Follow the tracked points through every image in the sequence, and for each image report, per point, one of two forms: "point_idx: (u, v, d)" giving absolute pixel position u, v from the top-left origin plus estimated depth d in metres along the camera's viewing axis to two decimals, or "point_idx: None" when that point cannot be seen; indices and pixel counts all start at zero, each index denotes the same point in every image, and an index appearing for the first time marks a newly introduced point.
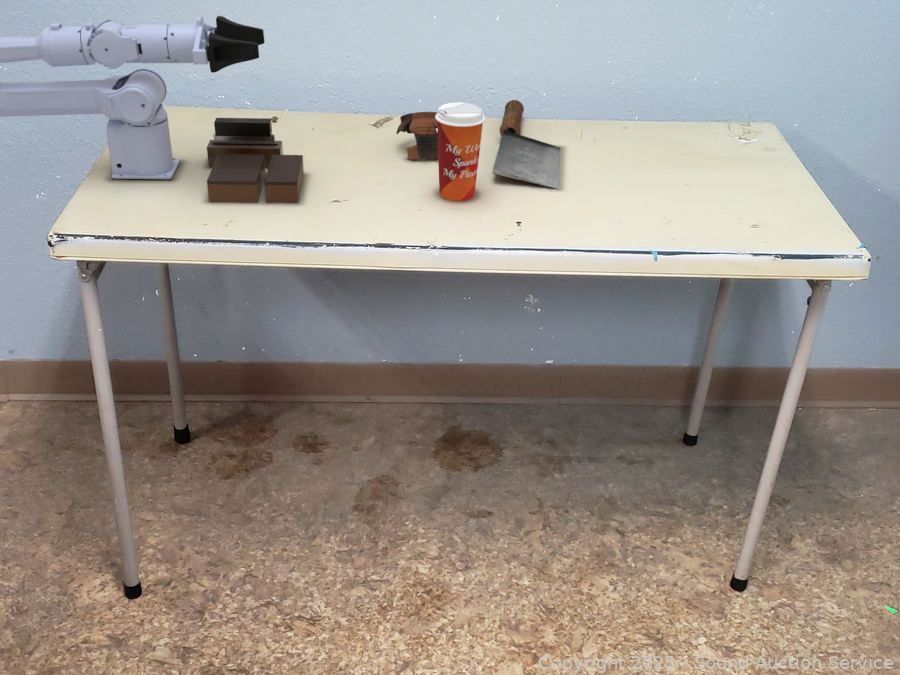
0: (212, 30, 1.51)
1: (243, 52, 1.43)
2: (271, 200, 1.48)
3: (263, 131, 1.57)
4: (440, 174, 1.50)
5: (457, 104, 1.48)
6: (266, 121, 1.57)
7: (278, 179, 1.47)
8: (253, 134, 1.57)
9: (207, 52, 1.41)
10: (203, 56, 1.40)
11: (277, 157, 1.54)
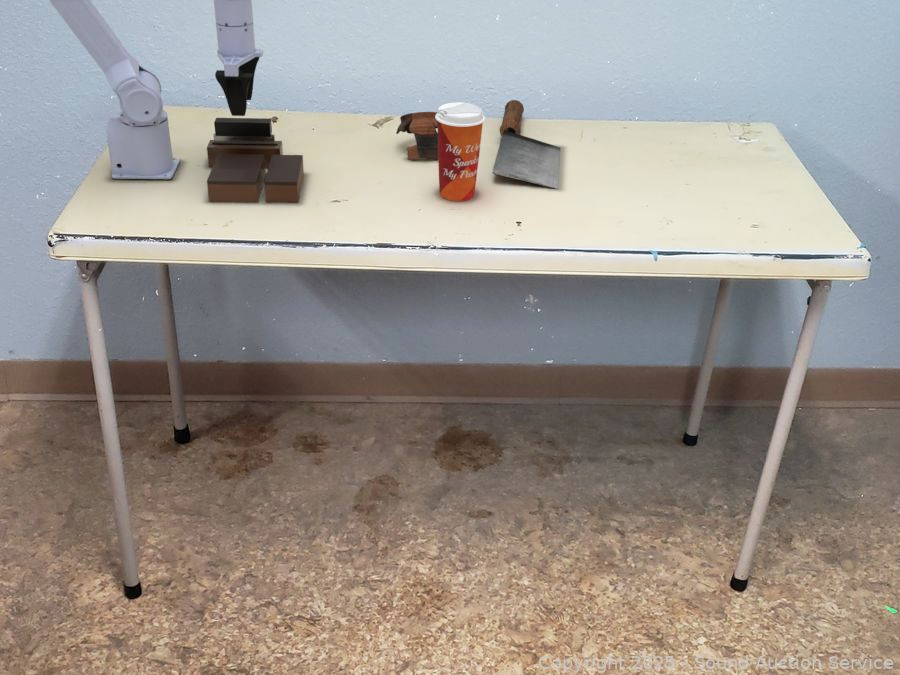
0: None
1: (236, 102, 1.51)
2: (271, 200, 1.48)
3: (263, 131, 1.57)
4: (440, 174, 1.50)
5: (457, 104, 1.48)
6: (266, 121, 1.57)
7: (278, 179, 1.47)
8: (253, 134, 1.57)
9: None
10: (232, 74, 1.45)
11: (277, 157, 1.54)
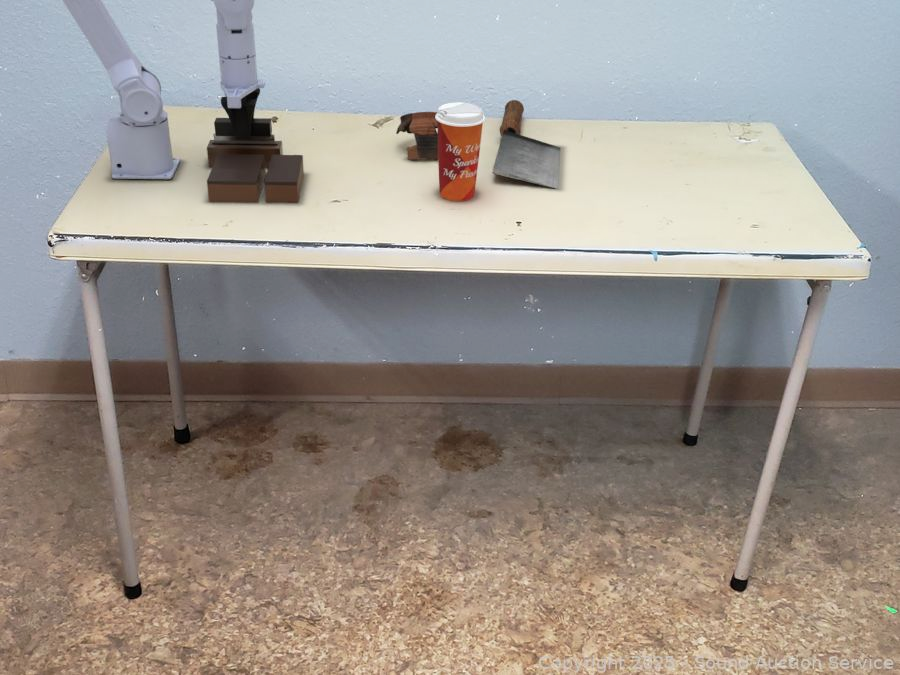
0: None
1: (240, 127, 1.55)
2: (271, 200, 1.48)
3: (263, 131, 1.57)
4: (440, 174, 1.50)
5: (457, 104, 1.48)
6: (266, 121, 1.57)
7: (278, 179, 1.47)
8: (253, 134, 1.57)
9: None
10: (235, 106, 1.48)
11: (277, 157, 1.54)
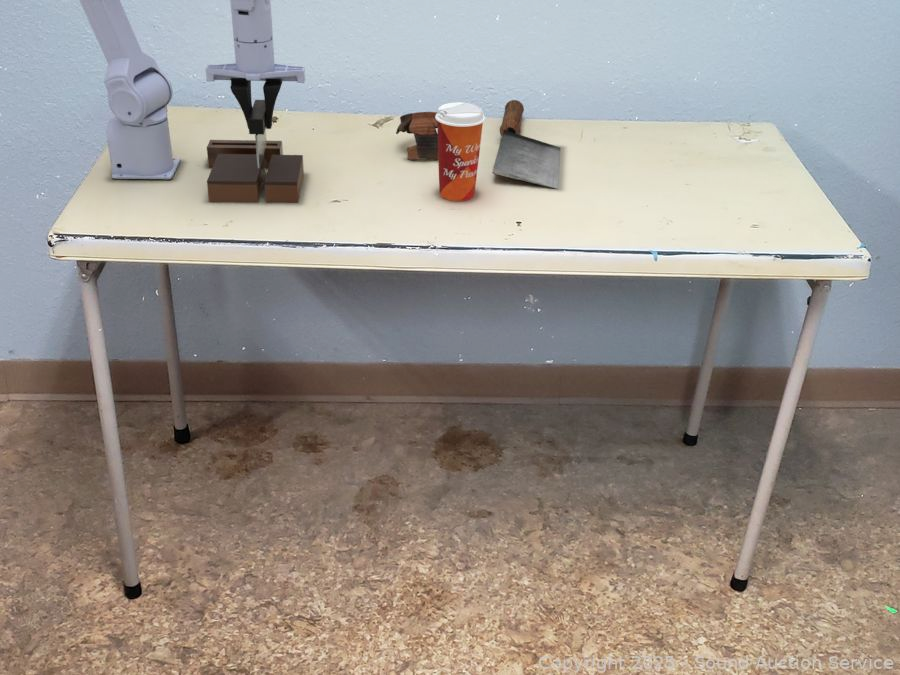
0: (295, 75, 1.44)
1: None
2: (271, 200, 1.48)
3: None
4: (440, 174, 1.50)
5: (457, 104, 1.48)
6: (253, 117, 1.43)
7: (278, 179, 1.47)
8: None
9: None
10: None
11: (277, 157, 1.54)
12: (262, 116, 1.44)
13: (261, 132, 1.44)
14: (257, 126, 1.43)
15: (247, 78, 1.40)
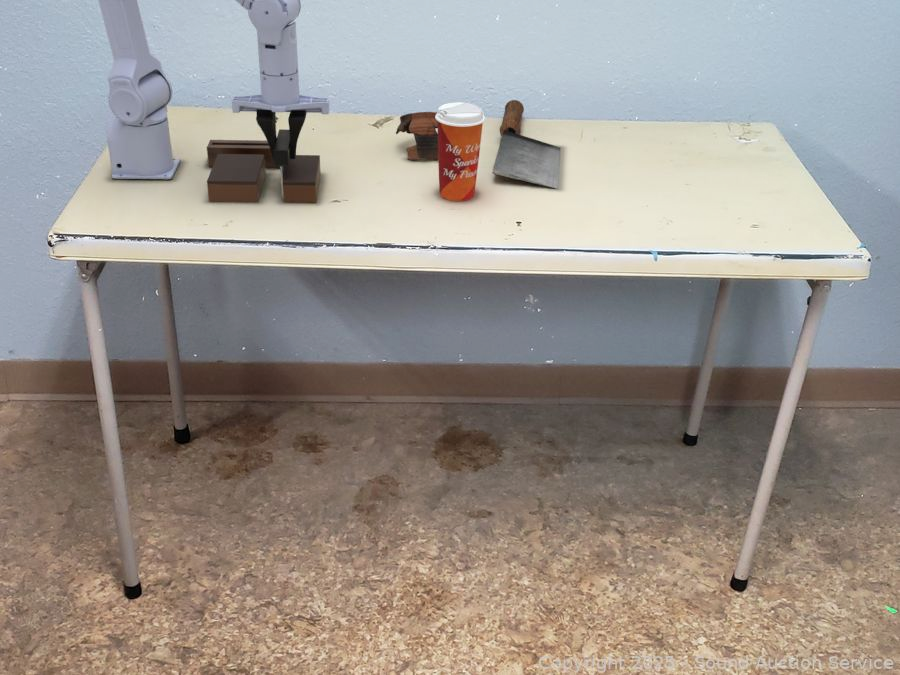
0: None
1: None
2: (289, 200, 1.48)
3: None
4: (440, 174, 1.50)
5: (457, 104, 1.48)
6: (278, 148, 1.45)
7: (296, 179, 1.47)
8: None
9: None
10: None
11: (295, 157, 1.54)
12: (287, 147, 1.46)
13: (286, 163, 1.46)
14: (282, 157, 1.45)
15: (273, 110, 1.42)
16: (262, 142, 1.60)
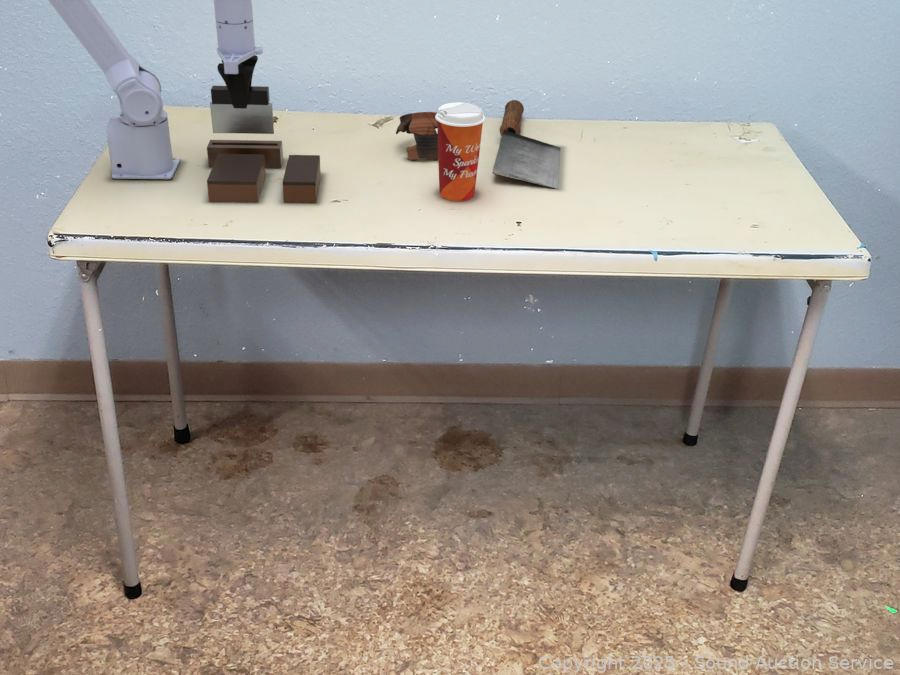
0: None
1: (238, 95, 1.53)
2: (289, 200, 1.48)
3: (260, 99, 1.54)
4: (440, 174, 1.50)
5: (457, 104, 1.48)
6: (263, 89, 1.54)
7: (296, 179, 1.47)
8: (250, 102, 1.54)
9: None
10: (232, 71, 1.45)
11: (295, 157, 1.54)
12: (260, 86, 1.55)
13: (269, 99, 1.56)
14: (268, 94, 1.55)
15: (261, 52, 1.50)
16: (262, 142, 1.60)
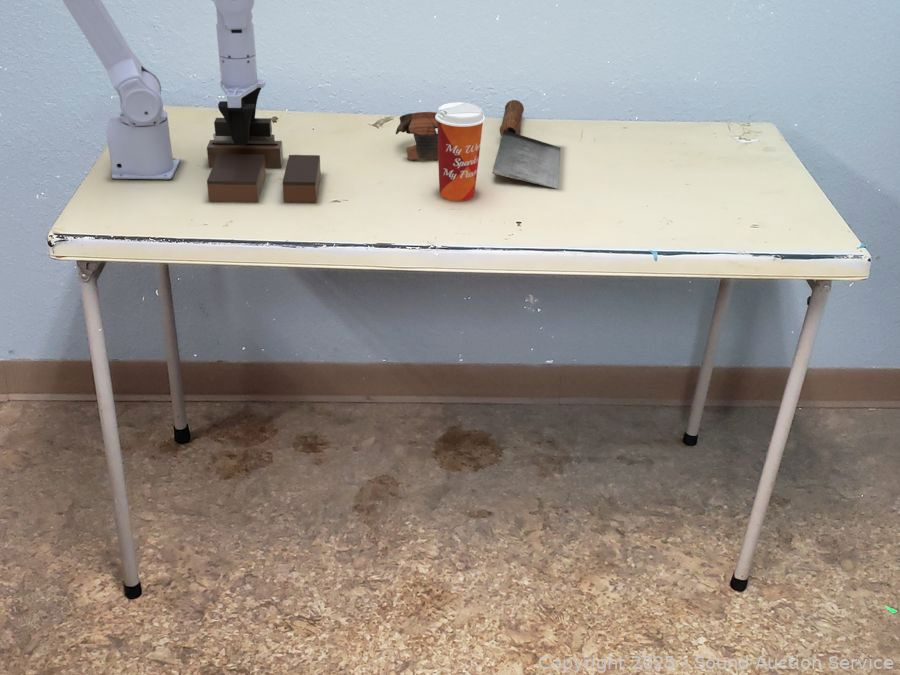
0: None
1: (238, 132, 1.53)
2: (289, 200, 1.48)
3: (263, 131, 1.57)
4: (440, 174, 1.50)
5: (457, 104, 1.48)
6: (266, 121, 1.57)
7: (296, 179, 1.47)
8: (253, 134, 1.57)
9: None
10: (235, 105, 1.48)
11: (295, 157, 1.54)
12: (263, 118, 1.58)
13: (271, 130, 1.59)
14: (270, 126, 1.58)
15: (263, 85, 1.53)
16: None
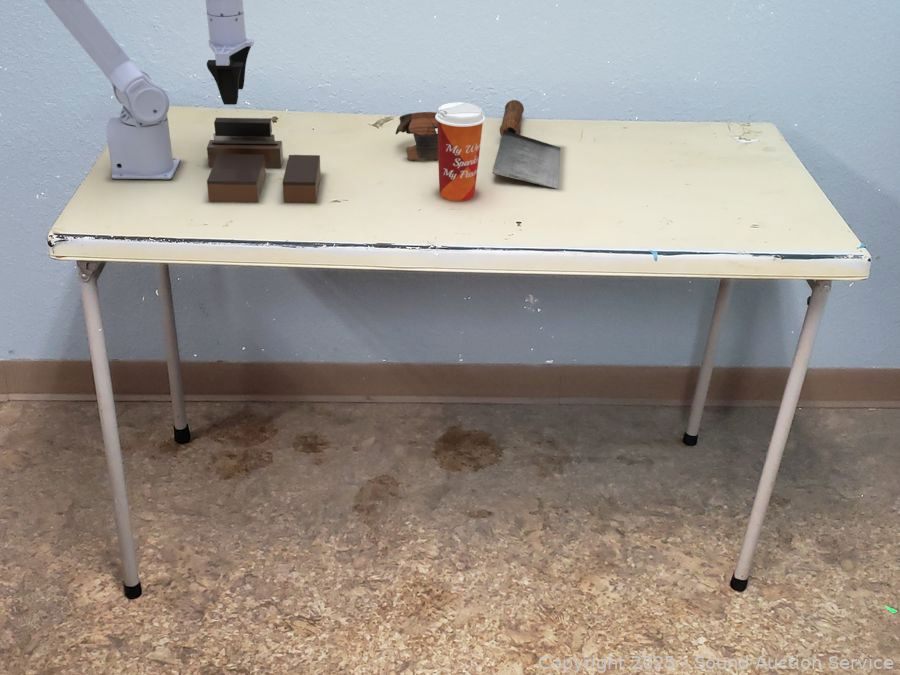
0: None
1: (228, 91, 1.53)
2: (289, 200, 1.48)
3: (263, 131, 1.57)
4: (440, 174, 1.50)
5: (457, 104, 1.48)
6: (266, 121, 1.57)
7: (296, 179, 1.47)
8: (253, 134, 1.57)
9: None
10: (223, 63, 1.48)
11: (295, 157, 1.54)
12: (263, 118, 1.58)
13: (271, 130, 1.59)
14: (270, 126, 1.58)
15: (252, 44, 1.53)
16: None
